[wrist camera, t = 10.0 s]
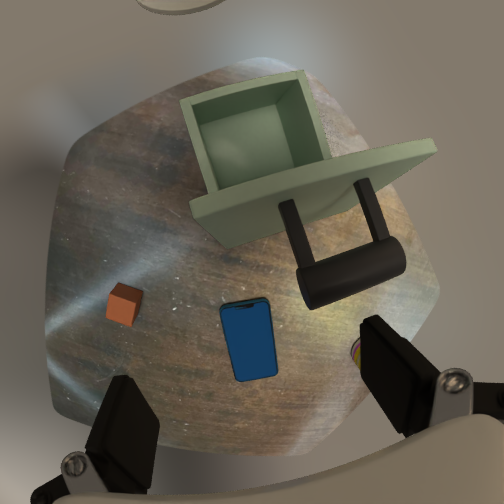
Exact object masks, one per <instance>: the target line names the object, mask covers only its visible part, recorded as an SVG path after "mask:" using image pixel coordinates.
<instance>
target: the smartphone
mask: <svg viewBox="0 0 504 504" xmlns="http://www.w3.org/2000/svg"><path fill="white" fill-rule="evenodd" d="M220 318H221V322H222V327H223V332H224V336H225V340H226V344H227V348H228V352H229V356H230V360H231V364H232V368H233V372H234V376H235V379H236V381H238V382H245V381H251V380H256V379H262V378H267V377H272V376H275V375H277V373H278V364H277V356H276V348H275V340H274V332H273V323H272V317H271V309H270V304H269V301H268V300H266V299H256V300H251V301H245V302H240V303H234V304H228V305H224V306H222V307H221V308H220Z"/></svg>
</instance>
